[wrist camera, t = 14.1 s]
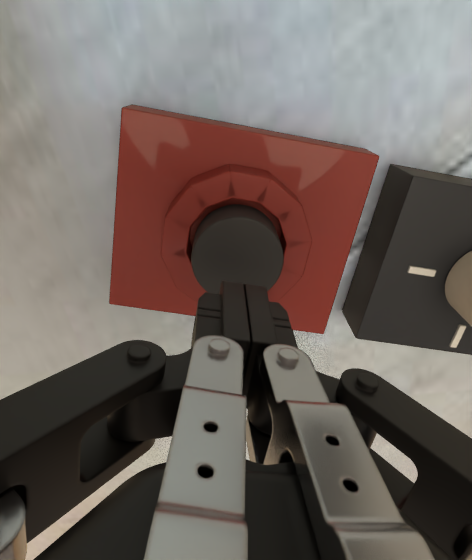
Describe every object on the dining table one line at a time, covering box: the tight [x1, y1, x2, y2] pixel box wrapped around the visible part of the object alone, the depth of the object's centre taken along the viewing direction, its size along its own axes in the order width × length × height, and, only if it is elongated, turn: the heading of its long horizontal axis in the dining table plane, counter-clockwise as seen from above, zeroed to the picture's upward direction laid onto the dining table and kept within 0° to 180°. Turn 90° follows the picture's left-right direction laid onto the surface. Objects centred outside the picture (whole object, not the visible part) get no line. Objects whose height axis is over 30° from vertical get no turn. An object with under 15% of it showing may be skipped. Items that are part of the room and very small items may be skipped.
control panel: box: [342, 164, 472, 355], centre depth 23 cm, size 11×9×3 cm
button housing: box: [109, 105, 379, 334], centre depth 22 cm, size 12×10×4 cm
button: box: [191, 204, 284, 294], centre depth 19 cm, size 4×4×2 cm
